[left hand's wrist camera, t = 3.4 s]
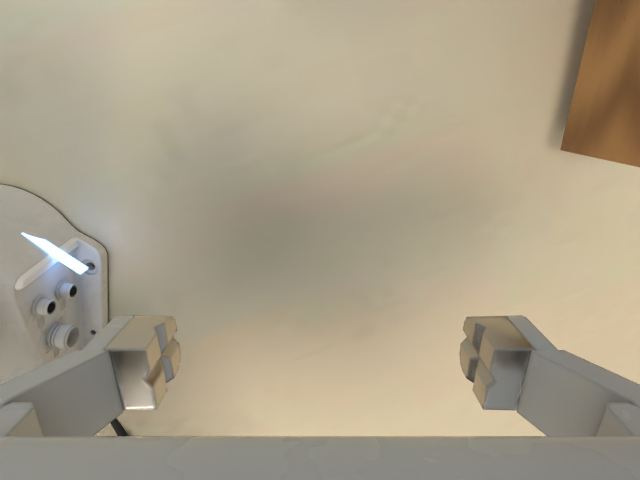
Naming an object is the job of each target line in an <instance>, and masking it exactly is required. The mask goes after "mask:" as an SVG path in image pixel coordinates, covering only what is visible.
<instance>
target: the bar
mask: <svg viewBox="0 0 640 480" xmlns="http://www.w3.org/2000/svg"><path fill="white" fill-rule="evenodd" d="M561 150H563V151H567V152H572V153H576V154H581V155H586V156H590V157H595V158H599V159H604V160H609V161H613V162H618V163H622V164H627V165H631V166H636V167H640V0H595V4H594V8H593V13H592V17H591V21H590V26H589V30H588V34H587V38H586V43H585V47H584V51H583V55H582V60H581V64H580V68H579V72H578V77H577V81H576V85H575V90H574V94H573V98H572V102H571V107H570V111H569V115H568V119H567V124H566V128H565V132H564V137H563V141H562V145H561Z"/></svg>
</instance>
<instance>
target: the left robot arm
mask: <svg viewBox="0 0 640 480" xmlns="http://www.w3.org/2000/svg"><path fill="white" fill-rule="evenodd" d="M91 263H93V264H94V265H95V267H93V266H92V265H91ZM176 331H177V327H176V322H175V319H174V318H173V317H172V316H135V315H129V316H115V317H114V318H113V319H112V320H111V321H110V322H109V323H108V278H107V252H106V250H105V248H104V247H103V246H102V245H101V244H100V243H98V242H97V241H95V240H93V239H92V238H90V237H88V236H86V235H84V234H82V233H80V232H79V231H77V230H76V229H75V228H74V227H73V226H72V225H71V224H70V223H69V222H68V221H67V220H66V219H65V218H64V217H63V216H62V215H61V214H60V213H59V212H58V211H57V210H56V209H55V208H53V207H52V206H51V205H49V204H48V203H47V202H45V201H44V200H42V199H41V198H39V197H37V196H35V195H33V194H31V193H29V192H27V191H24V190H22V189H19V188H16V187H12V186H8V185H2V184H0V480H640V385H639V384H637V383H635V382H633V381H630V380H628V379H626V378H624V377H622V376H619V375H617V374H615V373H613V372H611V371H609V370H606V369H604V368H602V367H600V366H598V365H595V364H593V363H591V362H589V361H587V360H584V359H582V358H580V357H578V356H576V355H573V354H571V353H569V352H567V351H565V350H558V349H557V348H556V347H555V346H554V345H553V344H552V343H551V342H550V341H549V340H548V339H547V338H546V337H545V336H544V335H543V334H542V333H541V332H540V331H539V330H538V329H537V328H536V327H535V326H534V325H533V324H532V323H531V322H530V321H529V320H528V319H527V318H526V317H524V316H522V315H515V316H483V317H466V320H465V322H464V327H463V331H464V332H465V334H466V336H467V338H466V339H465V340H464V341H463V342H462V343H461V346H460V364H461V367H462V370H463V373H464V375H465V377H466V378H467V379H468V380H470V381H471V382H473V383H474V385H473V392H474V394H475V395H476V397H477V399H478V401H479V403H480V405H481V406H482V408H483V409H485V410H517V413H519V414H520V415H521V416H522V417H524V418H525V419H526V420H528V421H529V422H530V423H531V424H533V425H534V426H535V427H536V428H538V429H539V430H540V431H541V432H543V433H544V434H545V435H546V436H127V435H126V433H125V431H124V429H123V427H122V426H121V424H120V423H119V422H118V420H117V419H116V417H118V416H119V415H120V414H121V413H123V410H154V409H157V408H158V406H159V405H160V403H161V401H162V399H163V397H164V395H165V394H166V392H167V385H166V383H167V382H169V381H170V380H172V379H173V378H174V377H175V375H176V373H177V371H178V367H179V363H180V346H179V343H178V342H177V341H176V340H175V339H174V338H173V336H174V334H175V332H176ZM109 423H111V424H112V426H113V428H114V429H115V431H116V433H117V435H118V436H94V435H95V434H96V433H98V432H99V431H100V430H101V429H103V428H104V427H105V426H106V425H108V424H109Z"/></svg>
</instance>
